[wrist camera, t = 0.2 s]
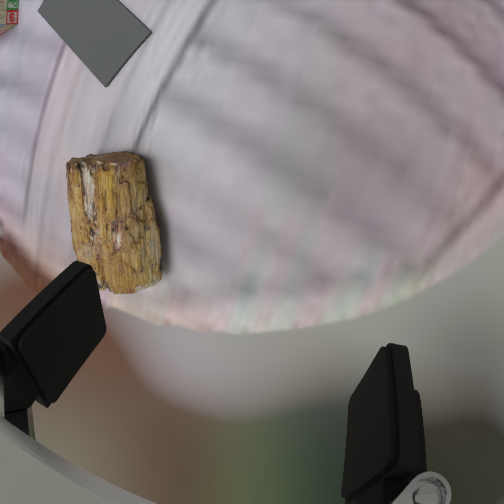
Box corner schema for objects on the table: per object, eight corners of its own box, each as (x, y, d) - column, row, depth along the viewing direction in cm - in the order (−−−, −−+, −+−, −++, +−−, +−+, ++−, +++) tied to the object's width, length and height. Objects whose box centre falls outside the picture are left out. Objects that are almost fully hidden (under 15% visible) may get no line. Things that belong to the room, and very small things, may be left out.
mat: (74, -38, 27) (72, -39, 26) (152, 32, 32) (150, 31, 32) (39, 11, 32) (37, 10, 31) (107, 86, 37) (105, 87, 37)
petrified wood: (86, 146, 42) (51, 163, 33) (168, 145, 42) (146, 163, 34) (98, 259, 51) (73, 293, 43) (170, 265, 52) (155, 303, 43)
